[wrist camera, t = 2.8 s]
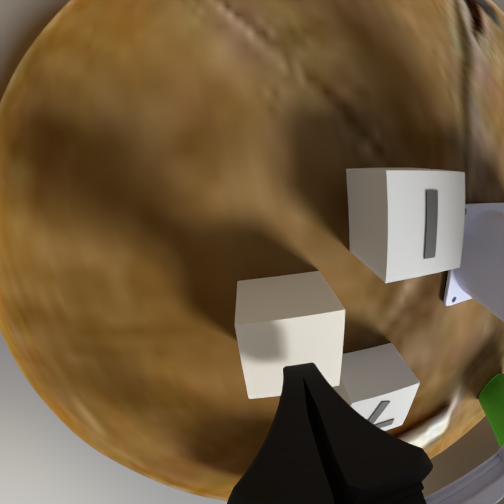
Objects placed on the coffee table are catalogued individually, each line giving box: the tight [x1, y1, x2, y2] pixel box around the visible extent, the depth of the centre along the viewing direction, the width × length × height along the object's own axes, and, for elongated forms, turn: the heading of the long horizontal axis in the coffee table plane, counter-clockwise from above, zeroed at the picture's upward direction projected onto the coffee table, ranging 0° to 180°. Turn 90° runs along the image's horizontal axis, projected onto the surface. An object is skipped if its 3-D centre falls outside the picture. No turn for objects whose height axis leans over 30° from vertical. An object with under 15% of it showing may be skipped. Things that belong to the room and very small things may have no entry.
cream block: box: [235, 271, 345, 399], centre depth 15 cm, size 5×5×5 cm
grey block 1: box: [346, 168, 465, 283], centre depth 13 cm, size 5×5×5 cm
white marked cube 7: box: [333, 343, 420, 431], centre depth 17 cm, size 5×5×5 cm
